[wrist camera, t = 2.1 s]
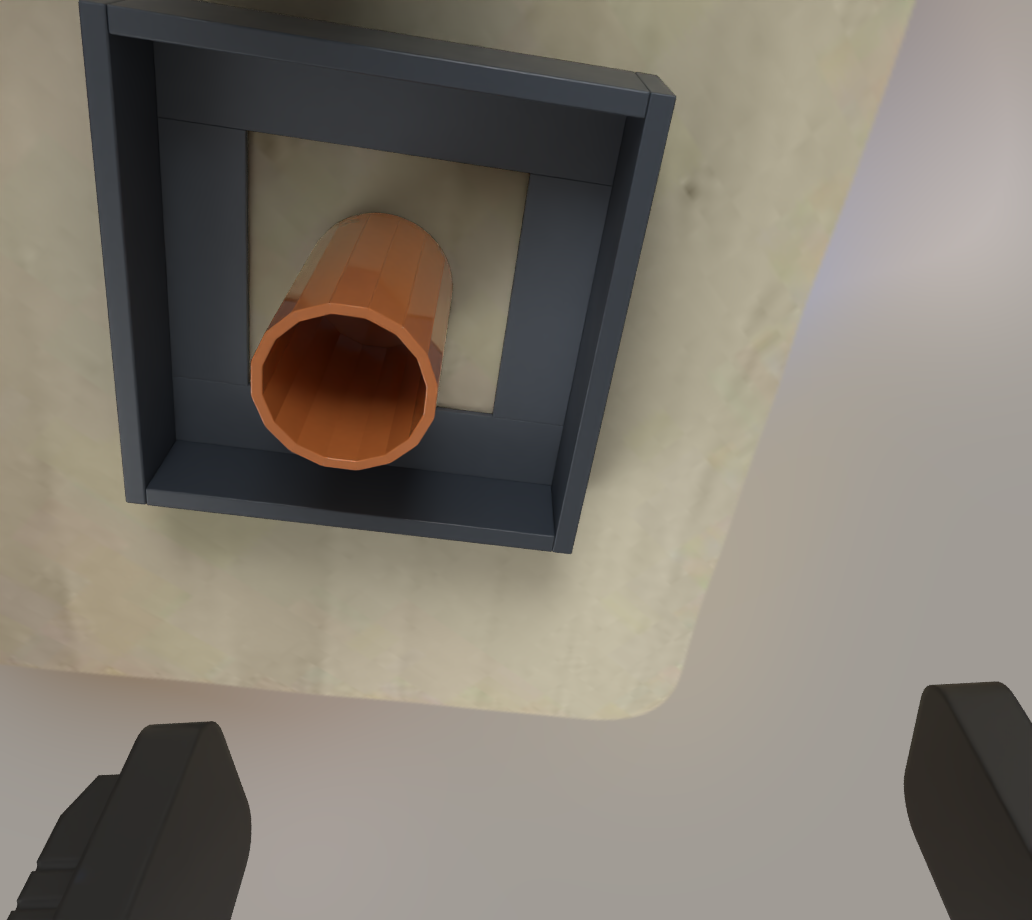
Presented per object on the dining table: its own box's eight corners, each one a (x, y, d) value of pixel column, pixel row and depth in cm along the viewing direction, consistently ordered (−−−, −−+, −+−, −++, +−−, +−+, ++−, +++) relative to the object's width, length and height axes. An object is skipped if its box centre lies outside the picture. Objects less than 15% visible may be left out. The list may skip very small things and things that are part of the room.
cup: (306, 339, 35) (251, 458, 28) (310, 201, 32) (249, 291, 25) (444, 357, 36) (427, 479, 28) (460, 223, 33) (446, 318, 25)
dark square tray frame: (159, 450, 38) (125, 503, 35) (127, -12, 29) (76, -1, 25) (566, 499, 39) (571, 554, 36) (658, 75, 30) (676, 96, 27)
